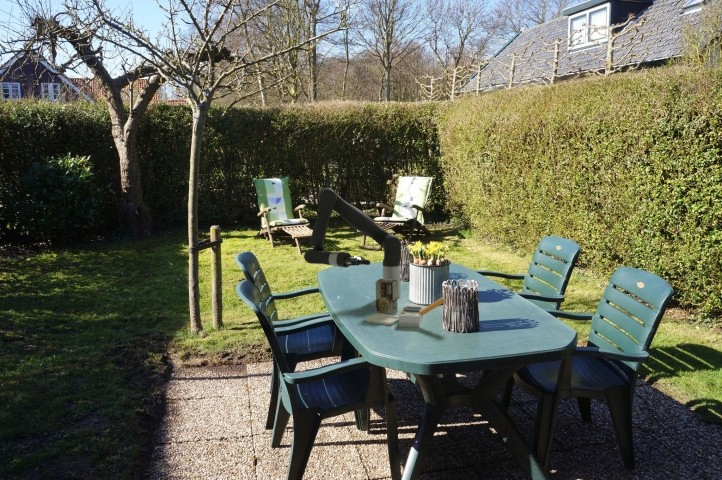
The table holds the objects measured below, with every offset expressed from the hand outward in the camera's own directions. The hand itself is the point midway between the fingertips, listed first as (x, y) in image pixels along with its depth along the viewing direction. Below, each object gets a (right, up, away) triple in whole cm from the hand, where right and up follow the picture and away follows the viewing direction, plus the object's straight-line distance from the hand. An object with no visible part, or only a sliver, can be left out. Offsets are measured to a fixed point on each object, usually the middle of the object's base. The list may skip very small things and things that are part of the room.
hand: (369, 262), depth 274 cm
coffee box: (+8, -24, -1) cm, 26 cm away
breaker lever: (+22, -22, -21) cm, 38 cm away
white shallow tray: (+6, -26, -13) cm, 30 cm away
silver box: (+19, -27, -16) cm, 36 cm away
